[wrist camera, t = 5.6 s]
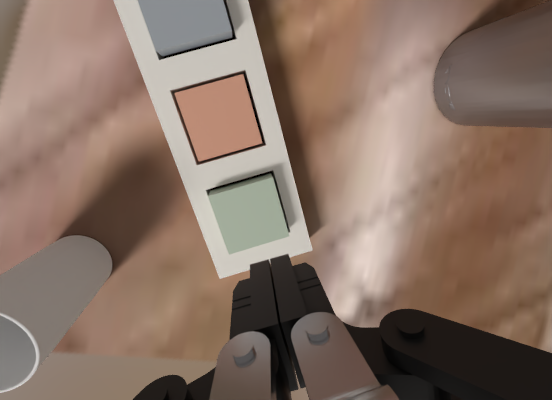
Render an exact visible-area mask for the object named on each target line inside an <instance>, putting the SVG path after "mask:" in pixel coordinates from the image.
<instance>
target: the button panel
mask: <svg viewBox="0 0 552 400" xmlns="http://www.w3.org/2000/svg"><path fill="white" fill-rule="evenodd" d="M224 1H225V5H226V8H227V12H228V16H229V19H230V23H231V26H232V30H233V34H234V37H235V40H231V41H227V42H224V43H220V44H216V45H213V46H209V47H205V48H202V49H198V50H194V51H191V52H187V53H183V54H180V55H176V56H172V57H168V58H165V59H164V57H163V56H161V55H160V54H159V53H158V52H157V51H156V50H155V47H154V44H153V42H152V39H151V36H150V33H149V30H148V28H147V25H146V22H145V19H144V16H143V14H142V11H141V8H140V5H139V3H138V0H114V3H115V5H116V8H117V11H118V13H119V16H120V18H121V21H122V24H123V26H124V29H125V32H126V34H127V37H128V39H129V42H130V45H131V47H132V50H133V53H134V55H135V58H136V60H137V63H138V66H139V68H140V71H141V73H142V76H143V79H144V81H145V84H146V87H147V89H148V92H149V94H150V97H151V100H152V102H153V105H154V108H155V110H156V113H157V115H158V118H159V121H160V123H161V126H162V129H163V131H164V134H165V136H166V139H167V142H168V144H169V147H170V149H171V152H172V155H173V157H174V160H175V163H176V165H177V168H178V170H179V173H180V176H181V178H182V181H183V184H184V186H185V189H186V191H187V194H188V197H189V199H190V202H191V204H192V207H193V210H194V212H195V215H196V218H197V220H198V223H199V225H200V228H201V231H202V233H203V236H204V239H205V241H206V244H207V246H208V249H209V252H210V254H211V257H212V259H213V262H214V265H215V267H216V270H217V273H218V275H219V278H220V279H221V278H224V277H228V276H231V275H234V274H237V273H241V272H244V271H247V270H250V264H253V263H257V262H260V261H264V260H268V259H269V262H270V259H271V258H274V257H278V256H282V255H285V254H289V257H293V256H296V255H299V254H302V253H305V252H309V251H312V246H311V243H310V239H309V235H308V231H307V227H306V223H305V219H304V215H303V212H302V208H301V204H300V200H299V196H298V192H297V188H296V184H295V180H294V177H293V173H292V169H291V165H290V161H289V157H288V153H287V149H286V146H285V142H284V138H283V134H282V130H281V126H280V122H279V118H278V114H277V111H276V107H275V103H274V99H273V95H272V91H271V87H270V83H269V80H268V76H267V72H266V68H265V64H264V60H263V56H262V52H261V49H260V45H259V41H258V37H257V33H256V29H255V25H254V21H253V17H252V14H251V10H250V6H249V2H248V0H224ZM241 74H245V76H246V80H247V84H248V87H249V91H250V94H251V98H252V101H253V105H254V109H255V112H256V116H257V119H258V123H259V126H260V130H261V134H262V137H263V141H264V143H263V144H260V145H256V146H253V147H249V148H246V149H242V150H239V151H235V152H232V153H229V154H225V155H222V156H218V157H215V158H211V159H208V160H204V161H201V162H200V161H198V158H197V156H196V153H195V150H194V147H193V144H192V142H191V139H190V136H189V133H188V130H187V128H186V125H185V122H184V119H183V116H182V113H181V111H180V108H179V105H178V102H177V99H176V97H175V94H174V93H176V92H180V91H184V90H187V89H191V88H194V87H198V86H202V85H205V84H209V83H212V82H216V81H220V80H223V79H227V78H230V77H234V76H238V75H241ZM269 171H272V173H273V177H274V180H275V184H276V187H277V191H278V194H279V198H280V202H281V205H282V209H283V212H284V216H285V219H286V223H287V224H286V226H287V229H288V233H289V237H285V238H282V239H279V240H275V241H272V242H269V243H266V244H262V245H259V246H256V247H252V248H249V249H246V250H243V251H239V252H236V253H233V254H229V253H228V250H227V247H226V245H225V242H224V239H223V236H222V233H221V231H220V228H219V225H218V222H217V220H216V217H215V214H214V211H213V208H212V206H211V203H210V200H209V197H208V195H209V193H210V191H211V190H210V189H211V188H214V187H218V186H221V185H225V184H228V183H231V182H235V181H238V180H242V179H245V178H248V177H252V176H255V175H259V174H262V173H265V172H269ZM270 263H271V262H270Z"/></svg>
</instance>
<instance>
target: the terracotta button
mask: <svg viewBox="0 0 552 400" xmlns="http://www.w3.org/2000/svg"><path fill="white" fill-rule="evenodd" d="M174 94H175V97H176V99H177V102H178V105H179V108H180V111H181V113H182V116H183V119H184V122H185V125H186V128H187V130H188V133H189V136H190V139H191V142H192V144H193V147H194V150H195V153H196V156H197V158H198V161H203V160H206V159H210V158H213V157H217V156H220V155H223V154H227V153H230V152H234V151H237V150H241V149H244V148H248V147H251V146H255V145H258V144H262V140H261V136H260V132H259V129H258V125H257V122H256V118H255V115H254V111H253V108H252V104H251V100H250V97H249V93H248V90H247V86H246V83H245V79H244V76H243V74H241V75H238V76H234V77H230V78H227V79H223V80H220V81H216V82H212V83H209V84H205V85H202V86H198V87H194V88H191V89H187V90H184V91H180V92H176V93H174Z"/></svg>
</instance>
